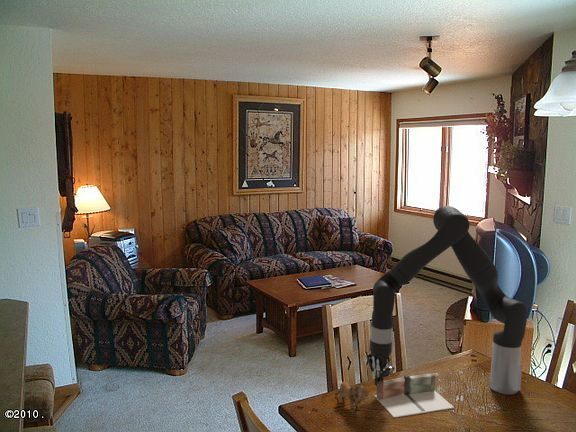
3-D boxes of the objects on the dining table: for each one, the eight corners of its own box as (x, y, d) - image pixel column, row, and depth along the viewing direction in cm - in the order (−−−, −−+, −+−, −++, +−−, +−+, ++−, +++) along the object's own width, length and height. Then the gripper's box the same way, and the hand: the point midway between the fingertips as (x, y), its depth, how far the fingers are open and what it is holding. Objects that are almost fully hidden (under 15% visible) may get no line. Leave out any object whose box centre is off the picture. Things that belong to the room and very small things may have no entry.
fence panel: (401, 392, 172) (402, 377, 172) (404, 394, 171) (405, 379, 170) (376, 397, 169) (377, 382, 168) (379, 399, 167) (379, 384, 166)
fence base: (431, 388, 176) (432, 371, 175) (434, 391, 174) (435, 374, 173) (402, 392, 173) (403, 375, 172) (405, 395, 171) (405, 378, 170)
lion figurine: (370, 412, 161) (371, 386, 160) (359, 417, 158) (359, 391, 157) (340, 393, 173) (341, 369, 171) (328, 398, 170) (329, 373, 168)
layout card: (430, 388, 177) (431, 386, 177) (454, 408, 164) (454, 406, 164) (374, 396, 171) (374, 394, 171) (393, 417, 158) (393, 416, 158)
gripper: (402, 343, 164) (399, 392, 167) (377, 329, 176) (375, 375, 179) (384, 348, 161) (382, 397, 164) (360, 333, 172) (358, 379, 175)
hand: (378, 385), depth 171 cm, fingers closed
